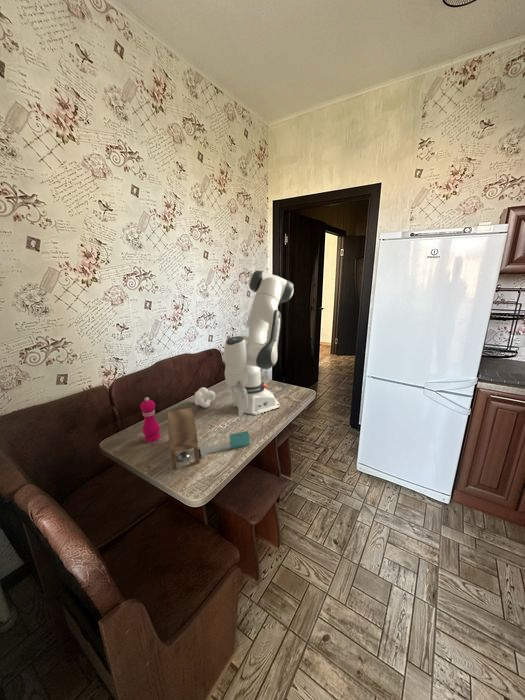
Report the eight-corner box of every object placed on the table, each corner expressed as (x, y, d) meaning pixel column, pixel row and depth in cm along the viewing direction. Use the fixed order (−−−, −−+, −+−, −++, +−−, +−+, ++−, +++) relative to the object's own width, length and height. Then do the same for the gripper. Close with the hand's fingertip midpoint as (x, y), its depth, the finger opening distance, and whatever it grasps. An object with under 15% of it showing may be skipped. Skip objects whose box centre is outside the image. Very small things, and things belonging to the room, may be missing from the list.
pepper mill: (150, 444, 120) (144, 402, 115) (140, 440, 124) (133, 398, 119) (164, 436, 126) (159, 395, 121) (154, 432, 130) (148, 392, 124)
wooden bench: (194, 435, 126) (191, 407, 122) (199, 463, 107) (196, 430, 104) (171, 440, 123) (167, 411, 119) (172, 469, 104) (168, 436, 101)
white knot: (188, 405, 156) (187, 390, 153) (205, 398, 165) (204, 384, 162) (201, 411, 149) (200, 395, 146) (218, 403, 158) (217, 388, 155)
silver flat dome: (189, 453, 114) (189, 450, 114) (190, 459, 110) (190, 457, 110) (178, 455, 113) (177, 453, 112) (178, 462, 109) (178, 459, 108)
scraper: (246, 439, 122) (246, 429, 121) (250, 446, 117) (250, 436, 115) (199, 449, 116) (198, 438, 115) (201, 457, 111) (200, 447, 109)
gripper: (251, 386, 102) (252, 420, 105) (237, 369, 120) (238, 399, 124) (234, 388, 100) (236, 423, 103) (223, 371, 118) (225, 401, 122)
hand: (237, 409), depth 114 cm, fingers open, 8 cm apart
